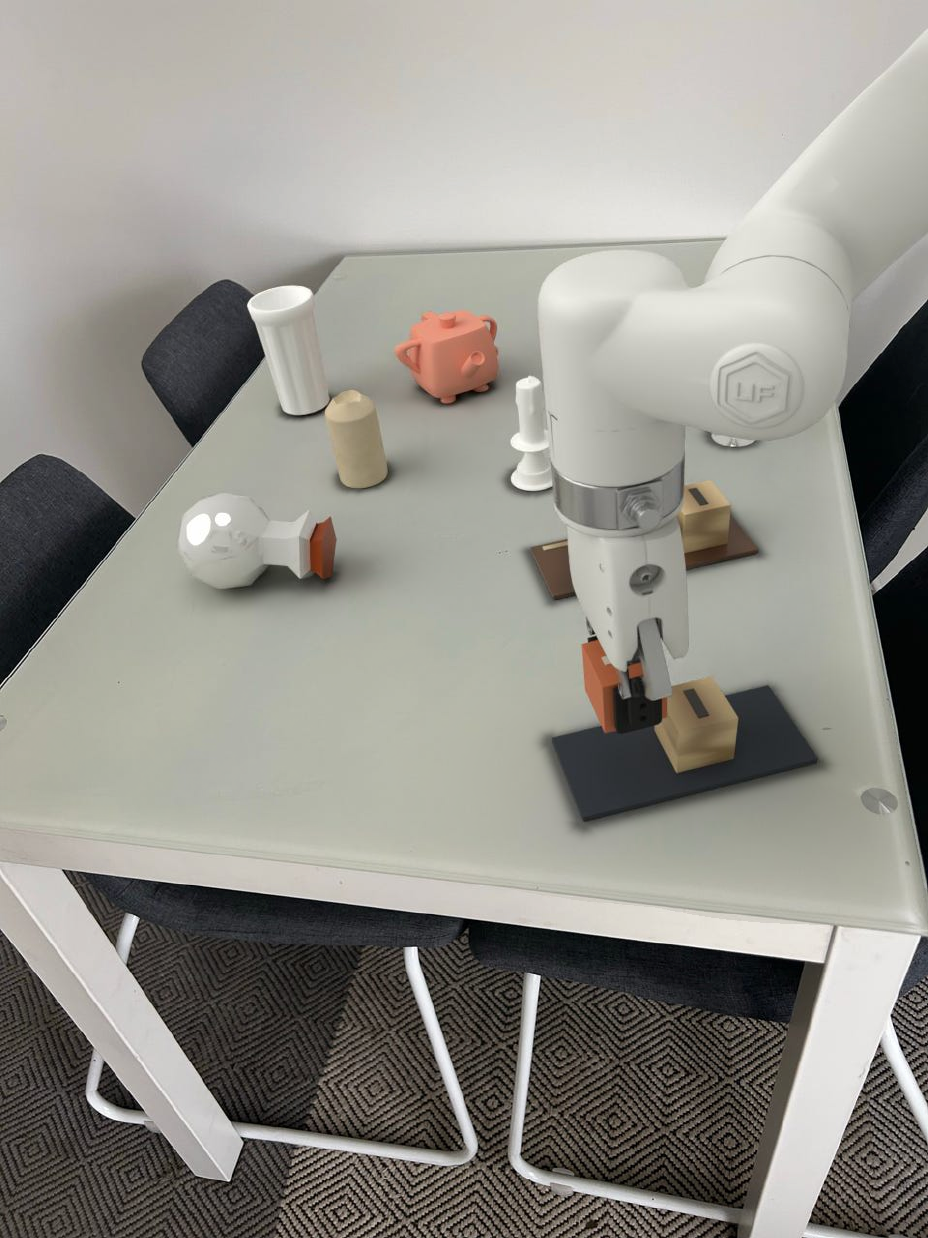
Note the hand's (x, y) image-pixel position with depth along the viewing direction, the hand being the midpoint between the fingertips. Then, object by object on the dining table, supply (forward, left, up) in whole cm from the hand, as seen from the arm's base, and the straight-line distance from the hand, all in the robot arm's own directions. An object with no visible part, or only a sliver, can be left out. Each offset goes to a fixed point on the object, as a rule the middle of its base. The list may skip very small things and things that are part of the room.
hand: (624, 698), depth 65 cm
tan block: (-6, 0, -7) cm, 9 cm away
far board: (-11, -25, -8) cm, 28 cm away
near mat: (-5, 0, -8) cm, 9 cm away
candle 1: (+13, -49, -8) cm, 52 cm away
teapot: (-1, -65, -8) cm, 66 cm away
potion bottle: (+25, -34, -8) cm, 43 cm away
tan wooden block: (-16, -25, -7) cm, 30 cm away
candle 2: (-5, -41, -8) cm, 42 cm away
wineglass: (-28, -41, -8) cm, 50 cm away
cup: (+18, -69, -8) cm, 72 cm away
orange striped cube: (0, 0, 0) cm, 0 cm away
